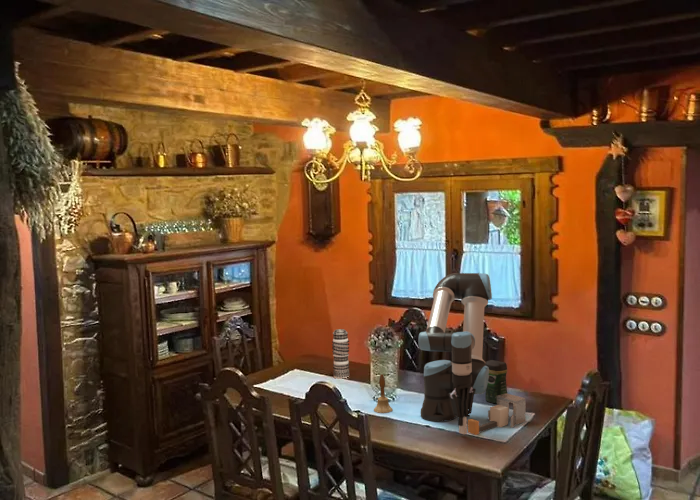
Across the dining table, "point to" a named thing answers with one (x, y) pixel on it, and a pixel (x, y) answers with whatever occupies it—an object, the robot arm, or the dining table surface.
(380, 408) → the hand bell
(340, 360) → the decorative candle
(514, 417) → the housing
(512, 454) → the dining table surface
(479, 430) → the plug
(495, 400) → the coffee jar
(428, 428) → the dining table surface
